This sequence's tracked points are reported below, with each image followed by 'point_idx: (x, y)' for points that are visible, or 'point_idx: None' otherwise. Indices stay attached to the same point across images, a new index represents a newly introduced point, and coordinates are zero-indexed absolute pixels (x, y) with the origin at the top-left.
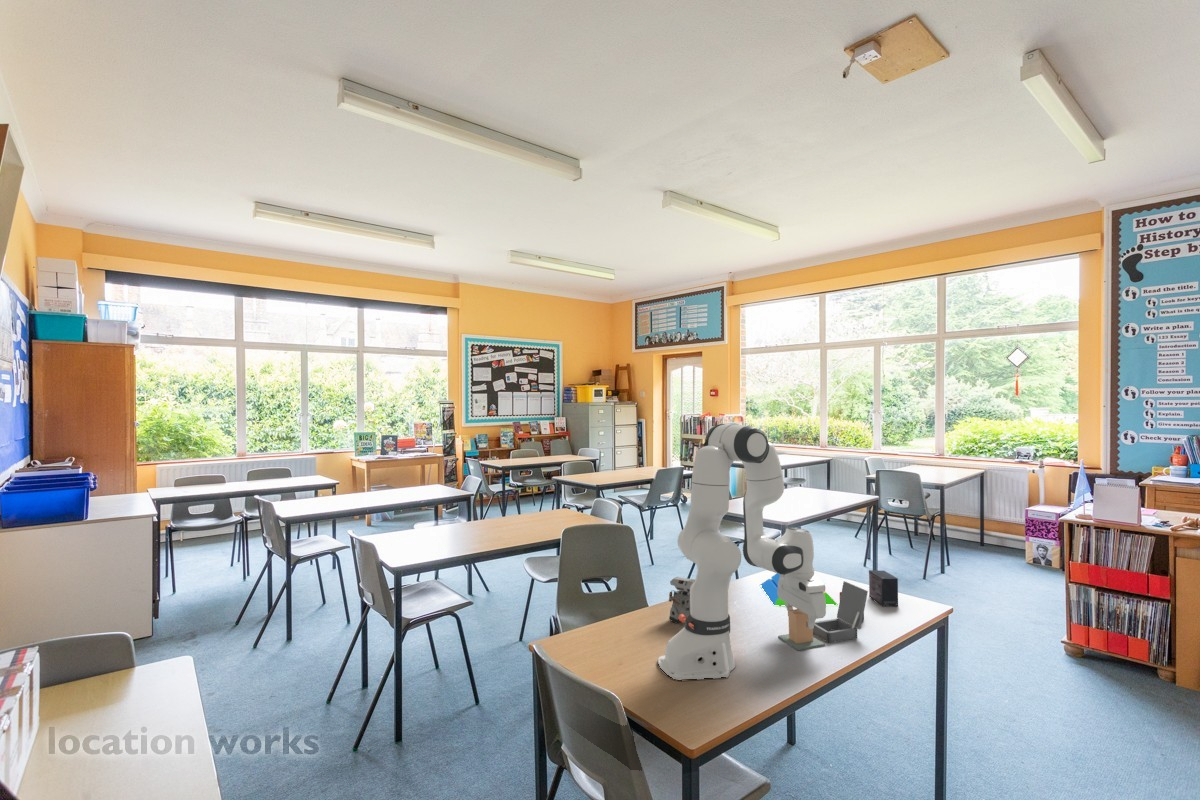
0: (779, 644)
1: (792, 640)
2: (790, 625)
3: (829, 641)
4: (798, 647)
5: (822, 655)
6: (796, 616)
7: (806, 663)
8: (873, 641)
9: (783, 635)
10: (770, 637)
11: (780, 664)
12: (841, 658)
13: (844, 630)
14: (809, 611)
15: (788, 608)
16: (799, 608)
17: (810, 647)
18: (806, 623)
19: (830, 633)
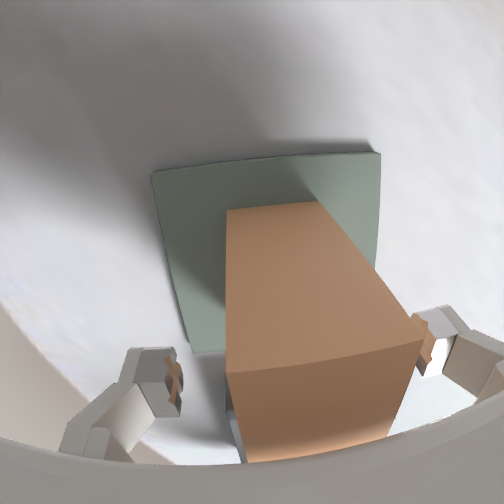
0: (274, 97)
1: (279, 205)
2: (325, 247)
3: (226, 380)
4: (164, 191)
5: (84, 281)
6: (228, 357)
7: (6, 154)
8: None
9: (372, 190)
10: (391, 104)
11: (21, 11)
12: (63, 338)
13: (241, 456)
14: (6, 486)
15: (478, 353)
16: (227, 488)
17: (171, 269)
18: (160, 370)
19: (228, 416)
